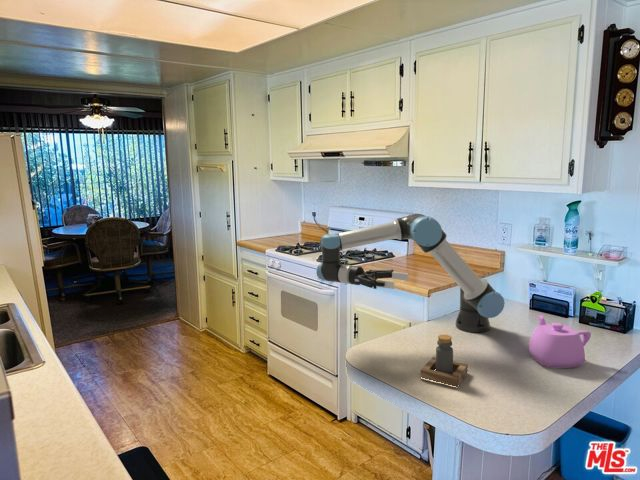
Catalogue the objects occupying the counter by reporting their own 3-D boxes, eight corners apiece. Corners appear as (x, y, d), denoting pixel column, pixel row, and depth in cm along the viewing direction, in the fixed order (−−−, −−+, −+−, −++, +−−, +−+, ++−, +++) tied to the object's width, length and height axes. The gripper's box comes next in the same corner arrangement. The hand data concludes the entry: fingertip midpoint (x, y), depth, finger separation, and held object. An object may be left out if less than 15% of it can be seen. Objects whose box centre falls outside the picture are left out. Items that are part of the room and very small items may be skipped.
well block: (432, 365, 168) (432, 356, 168) (467, 373, 161) (467, 364, 161) (420, 379, 158) (420, 370, 157) (457, 388, 150) (457, 378, 150)
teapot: (601, 370, 160) (604, 331, 158) (543, 372, 161) (545, 332, 158) (567, 345, 183) (569, 310, 180) (516, 347, 183) (517, 312, 181)
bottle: (436, 371, 163) (436, 333, 161) (452, 373, 161) (453, 334, 159) (435, 379, 158) (435, 339, 155) (452, 381, 156) (453, 340, 153)
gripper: (366, 277, 191) (413, 282, 179) (336, 291, 170) (387, 298, 159) (365, 260, 190) (413, 264, 178) (335, 272, 169) (387, 278, 158)
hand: (401, 280), depth 168 cm, fingers open, 13 cm apart
